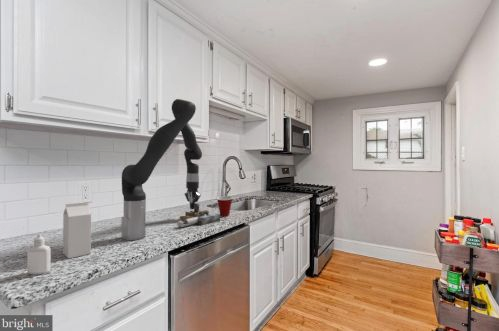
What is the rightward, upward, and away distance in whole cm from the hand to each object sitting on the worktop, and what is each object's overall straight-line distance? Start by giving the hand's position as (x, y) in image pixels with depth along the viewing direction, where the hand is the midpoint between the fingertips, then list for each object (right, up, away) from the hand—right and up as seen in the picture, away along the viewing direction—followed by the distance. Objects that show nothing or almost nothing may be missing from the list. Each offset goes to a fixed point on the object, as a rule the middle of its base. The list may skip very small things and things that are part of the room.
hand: (192, 208), depth 155 cm
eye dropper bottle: (-30, -7, -77) cm, 83 cm away
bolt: (+6, -4, -4) cm, 8 cm away
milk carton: (-29, -7, -61) cm, 68 cm away
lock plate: (+6, -6, -4) cm, 9 cm away
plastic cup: (+19, -6, +11) cm, 23 cm away
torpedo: (+3, -6, -16) cm, 17 cm away
